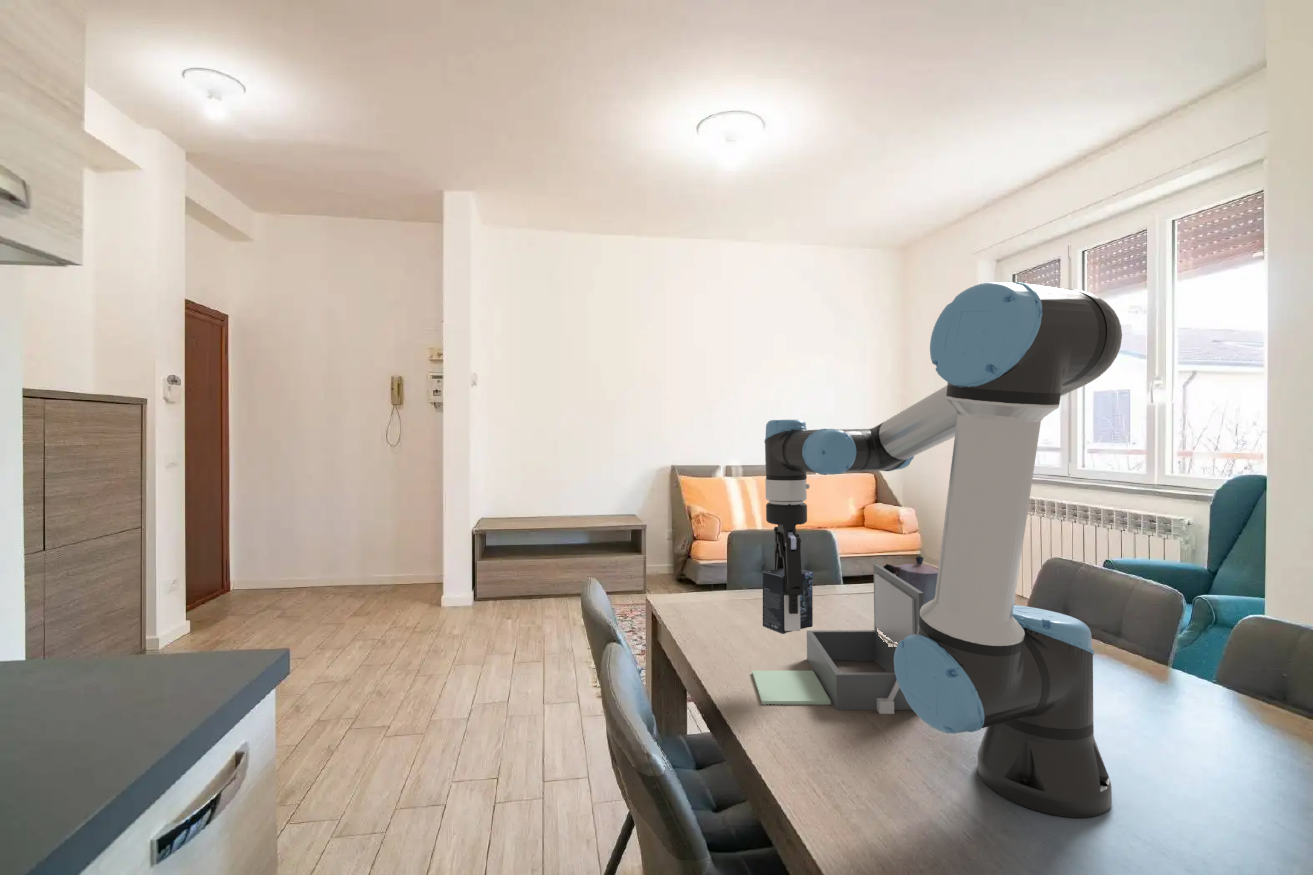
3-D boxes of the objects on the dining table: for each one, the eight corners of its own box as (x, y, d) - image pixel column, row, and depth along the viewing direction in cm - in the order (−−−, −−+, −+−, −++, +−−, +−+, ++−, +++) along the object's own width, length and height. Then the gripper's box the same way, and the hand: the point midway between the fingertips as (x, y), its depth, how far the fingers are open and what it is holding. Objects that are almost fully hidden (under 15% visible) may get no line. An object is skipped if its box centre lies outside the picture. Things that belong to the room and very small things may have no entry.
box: (783, 635, 109) (783, 576, 109) (761, 626, 113) (761, 570, 113) (814, 627, 113) (813, 570, 113) (791, 619, 118) (791, 565, 118)
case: (934, 714, 102) (932, 595, 102) (839, 713, 102) (837, 595, 102) (882, 658, 127) (881, 563, 127) (807, 658, 128) (805, 564, 128)
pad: (830, 704, 106) (830, 701, 106) (762, 704, 106) (762, 700, 106) (813, 673, 120) (813, 670, 120) (752, 673, 120) (752, 670, 120)
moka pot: (959, 653, 130) (958, 560, 130) (887, 653, 130) (886, 560, 130) (939, 638, 139) (938, 551, 140) (872, 638, 140) (871, 552, 140)
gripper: (819, 508, 102) (821, 641, 102) (795, 495, 124) (796, 605, 124) (775, 509, 102) (776, 641, 103) (758, 496, 124) (759, 605, 124)
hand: (787, 622), depth 113 cm, fingers closed on box, 9 cm apart
